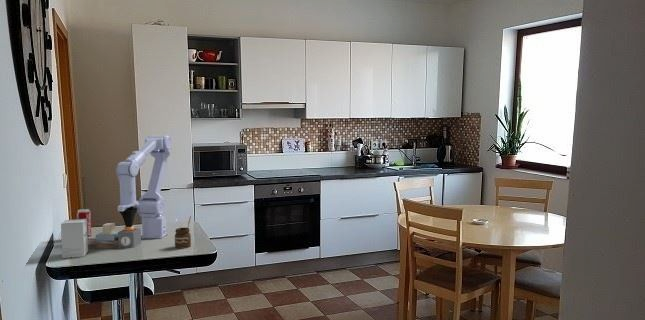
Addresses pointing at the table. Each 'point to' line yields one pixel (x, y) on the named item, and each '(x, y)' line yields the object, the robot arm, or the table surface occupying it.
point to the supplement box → (74, 238)
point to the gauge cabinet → (129, 238)
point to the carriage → (108, 233)
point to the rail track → (101, 243)
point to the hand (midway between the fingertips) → (129, 226)
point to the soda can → (85, 215)
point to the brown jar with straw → (182, 237)
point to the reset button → (128, 228)
